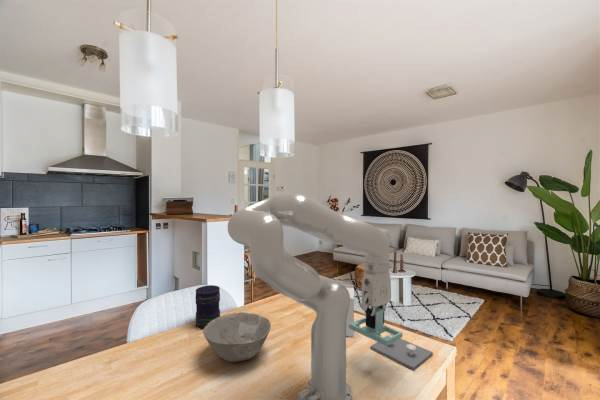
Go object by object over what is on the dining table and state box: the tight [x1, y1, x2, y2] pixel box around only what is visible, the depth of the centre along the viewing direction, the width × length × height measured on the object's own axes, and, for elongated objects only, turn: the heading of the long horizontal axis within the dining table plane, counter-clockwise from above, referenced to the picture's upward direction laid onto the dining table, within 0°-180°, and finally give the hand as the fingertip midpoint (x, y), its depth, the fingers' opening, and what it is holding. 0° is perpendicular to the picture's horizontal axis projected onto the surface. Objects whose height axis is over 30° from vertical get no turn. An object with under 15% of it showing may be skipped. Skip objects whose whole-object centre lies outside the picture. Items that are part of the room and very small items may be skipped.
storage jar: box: [194, 285, 221, 330], centre depth 117 cm, size 10×10×15 cm
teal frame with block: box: [349, 307, 403, 346], centre depth 88 cm, size 9×14×7 cm, turn 40°
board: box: [369, 333, 434, 372], centre depth 96 cm, size 13×16×4 cm
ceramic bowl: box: [202, 312, 272, 363], centre depth 94 cm, size 22×23×10 cm
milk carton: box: [342, 283, 355, 338], centre depth 110 cm, size 7×7×19 cm
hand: (374, 324), depth 88 cm, fingers closed on teal frame with block, 4 cm apart
